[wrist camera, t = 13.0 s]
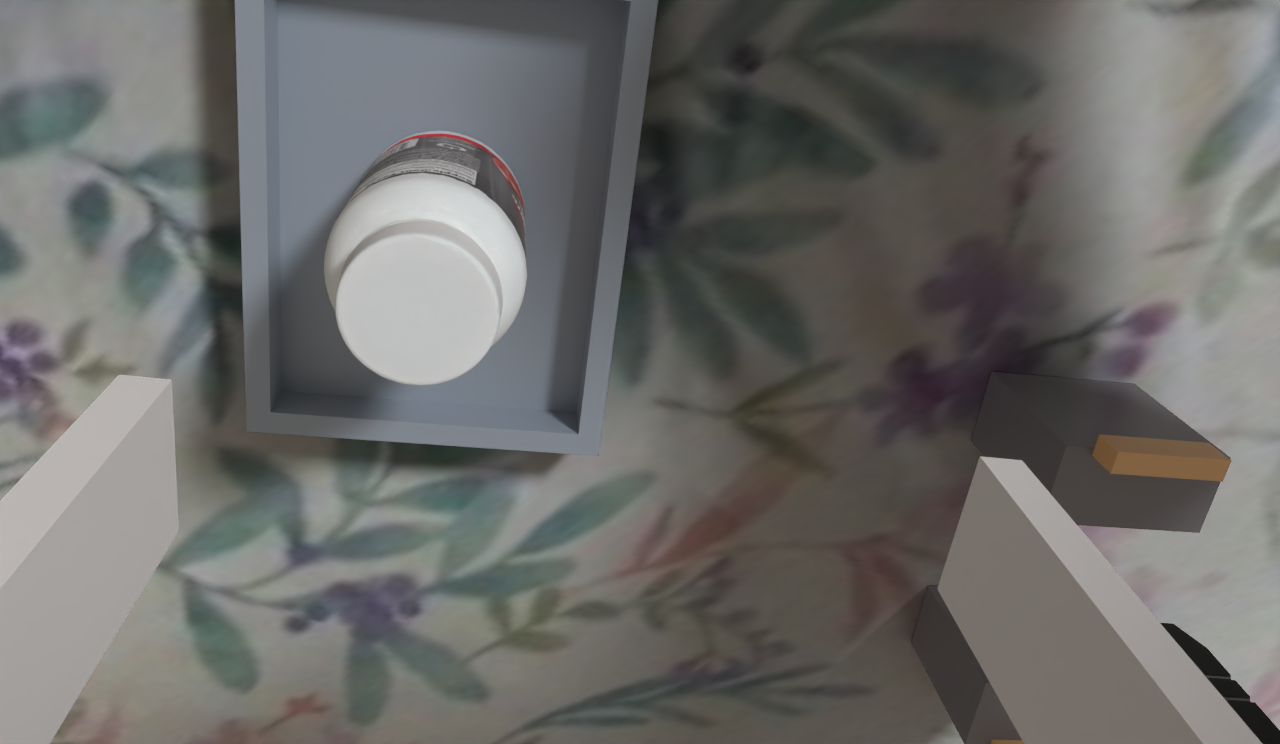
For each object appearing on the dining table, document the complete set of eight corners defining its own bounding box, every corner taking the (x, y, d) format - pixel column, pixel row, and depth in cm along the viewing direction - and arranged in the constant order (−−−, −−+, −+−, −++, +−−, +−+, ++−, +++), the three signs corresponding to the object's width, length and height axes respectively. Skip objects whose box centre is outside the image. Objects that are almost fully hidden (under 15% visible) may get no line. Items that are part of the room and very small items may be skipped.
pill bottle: (533, 279, 35) (537, 402, 26) (375, 293, 34) (324, 424, 25) (516, 120, 32) (514, 195, 23) (347, 133, 32) (280, 215, 23)
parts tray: (255, -84, 30) (232, -84, 28) (652, -29, 32) (661, -24, 29) (264, 399, 36) (246, 431, 34) (594, 423, 38) (598, 455, 36)
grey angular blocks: (994, 359, 39) (1089, 449, 32) (1138, 372, 39) (1259, 462, 33) (908, 651, 44) (974, 779, 38) (1035, 657, 45) (1121, 782, 38)
